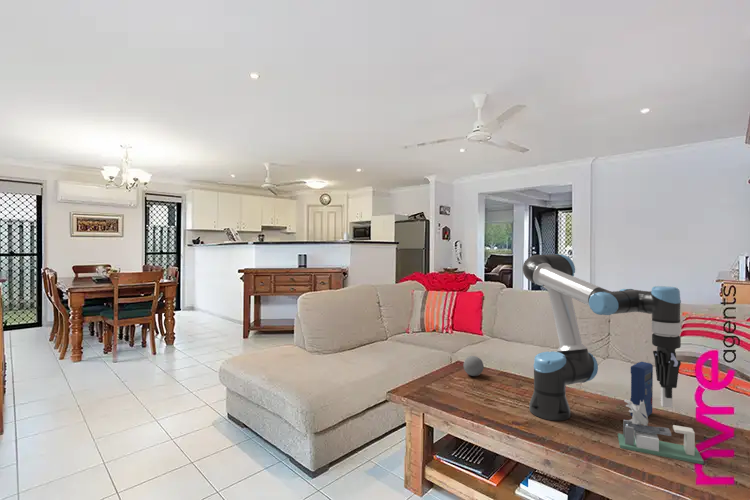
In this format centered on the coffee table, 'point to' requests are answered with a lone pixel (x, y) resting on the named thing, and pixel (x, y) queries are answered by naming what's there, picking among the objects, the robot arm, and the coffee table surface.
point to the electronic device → (642, 385)
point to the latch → (687, 438)
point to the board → (654, 445)
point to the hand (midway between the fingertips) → (666, 406)
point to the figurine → (637, 412)
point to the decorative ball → (473, 366)
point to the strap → (649, 429)
